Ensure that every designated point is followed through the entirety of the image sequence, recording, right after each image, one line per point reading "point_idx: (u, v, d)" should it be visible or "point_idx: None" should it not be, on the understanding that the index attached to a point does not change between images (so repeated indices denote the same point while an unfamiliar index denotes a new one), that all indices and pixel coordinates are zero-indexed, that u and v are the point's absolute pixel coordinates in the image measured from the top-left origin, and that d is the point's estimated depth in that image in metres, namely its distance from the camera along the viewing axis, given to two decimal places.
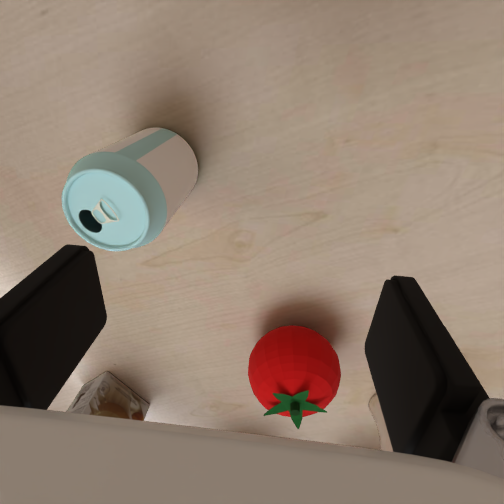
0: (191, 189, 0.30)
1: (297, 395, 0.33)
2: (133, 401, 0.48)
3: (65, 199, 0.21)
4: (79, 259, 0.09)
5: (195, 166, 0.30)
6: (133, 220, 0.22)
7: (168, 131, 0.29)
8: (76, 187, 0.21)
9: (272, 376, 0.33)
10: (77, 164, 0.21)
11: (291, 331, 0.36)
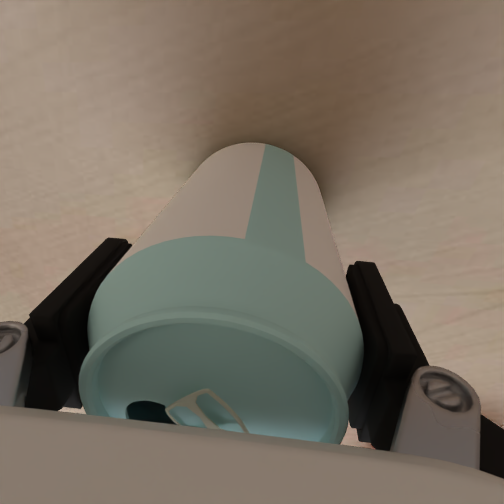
0: None
1: None
2: None
3: (91, 382, 0.07)
4: (121, 251, 0.10)
5: None
6: (286, 429, 0.07)
7: (281, 152, 0.14)
8: (125, 348, 0.07)
9: None
10: (126, 272, 0.07)
11: None
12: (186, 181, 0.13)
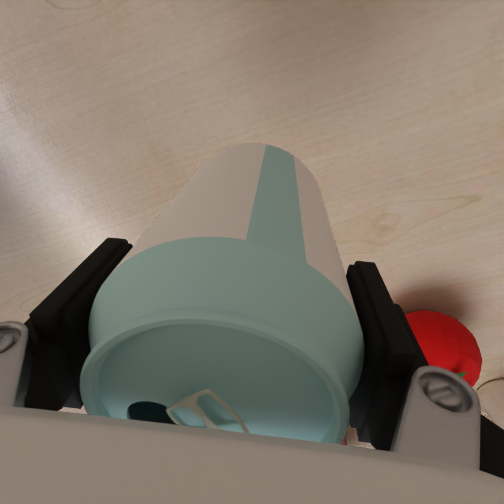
0: None
1: None
2: None
3: (91, 382, 0.07)
4: (121, 251, 0.10)
5: None
6: (287, 430, 0.07)
7: (281, 152, 0.14)
8: (126, 349, 0.07)
9: None
10: (127, 273, 0.07)
11: (432, 315, 0.36)
12: (187, 182, 0.13)
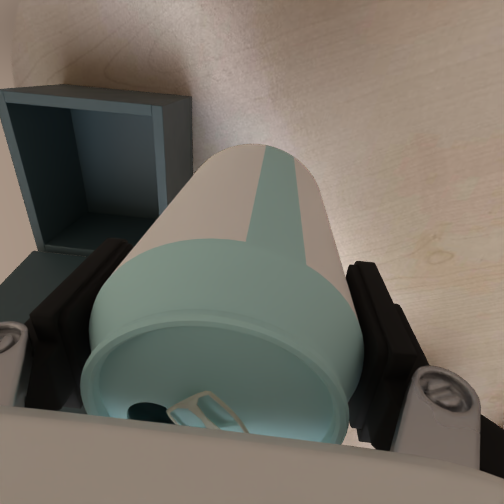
0: None
1: None
2: None
3: (92, 383, 0.07)
4: (121, 251, 0.10)
5: None
6: (287, 431, 0.07)
7: (281, 153, 0.14)
8: (126, 350, 0.07)
9: None
10: (127, 275, 0.07)
11: None
12: (187, 183, 0.13)
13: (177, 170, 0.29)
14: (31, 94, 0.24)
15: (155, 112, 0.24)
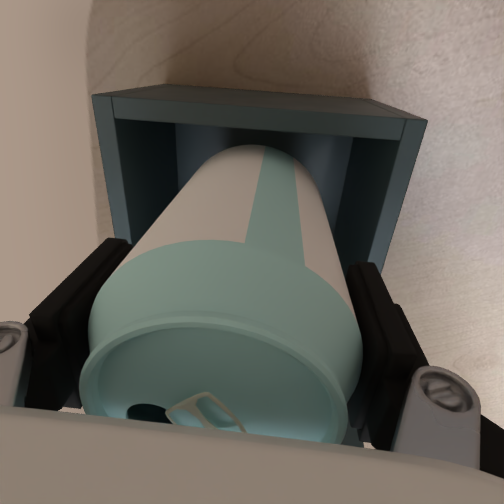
0: None
1: None
2: None
3: (90, 385, 0.07)
4: (121, 251, 0.10)
5: None
6: (286, 432, 0.07)
7: (280, 154, 0.14)
8: (125, 352, 0.07)
9: None
10: (126, 276, 0.07)
11: None
12: (186, 183, 0.13)
13: None
14: (167, 102, 0.12)
15: (410, 133, 0.12)
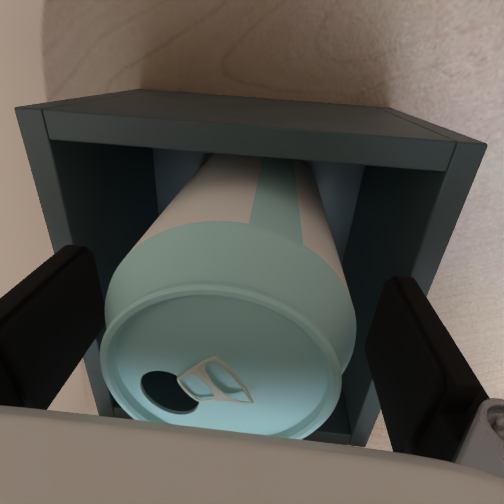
0: None
1: None
2: None
3: (110, 352, 0.08)
4: (79, 259, 0.09)
5: None
6: (286, 397, 0.08)
7: None
8: (142, 321, 0.07)
9: None
10: (142, 254, 0.08)
11: None
12: (191, 177, 0.14)
13: None
14: (120, 118, 0.09)
15: (461, 161, 0.09)
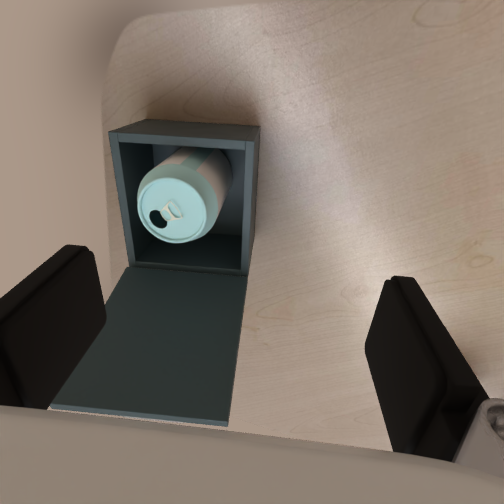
0: None
1: None
2: None
3: (140, 201, 0.27)
4: (79, 259, 0.09)
5: (231, 173, 0.36)
6: (193, 218, 0.27)
7: None
8: (149, 192, 0.26)
9: None
10: (149, 174, 0.27)
11: None
12: None
13: (254, 192, 0.33)
14: (141, 134, 0.28)
15: (248, 146, 0.28)
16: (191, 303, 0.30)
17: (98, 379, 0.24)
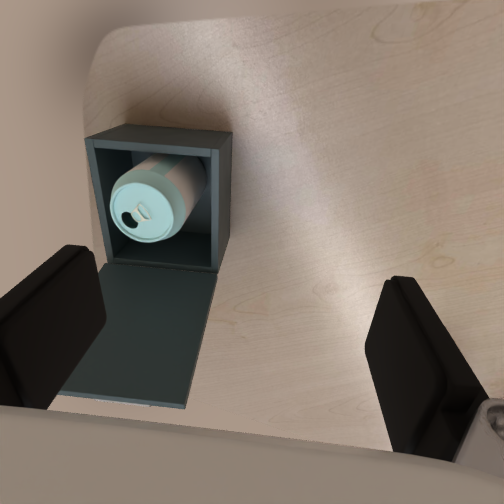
0: (201, 195, 0.38)
1: None
2: None
3: (112, 204, 0.29)
4: (79, 259, 0.09)
5: (204, 176, 0.38)
6: (161, 219, 0.29)
7: None
8: (120, 195, 0.29)
9: None
10: (121, 178, 0.29)
11: None
12: None
13: (223, 195, 0.35)
14: (115, 141, 0.30)
15: (213, 154, 0.30)
16: (162, 298, 0.33)
17: None
